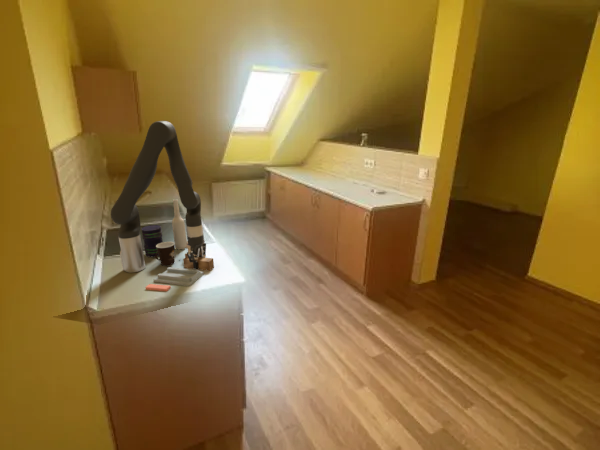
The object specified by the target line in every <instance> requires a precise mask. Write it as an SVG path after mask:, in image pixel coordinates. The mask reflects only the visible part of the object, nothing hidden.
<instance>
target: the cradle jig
mask: <svg viewBox="0 0 600 450" xmlns="http://www.w3.org/2000/svg"><path fill="white" fill-rule="evenodd" d="M204 274H205V273H204V271H201V270H197V269H188V268H184V267H183V268H182V267H173V266H168V267H167V268H166V270H165V271H163V272H162V273H158V274H157V275H156V277H155V278H153V282H154V283H161V284H167V285H169V284H170V285H178V286H186V287H191V286H192V285H193V284H194V283H195V282H196V281H197V280H198V279H200V278H202V276H204Z"/></svg>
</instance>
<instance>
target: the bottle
mask: <svg viewBox="0 0 600 450" xmlns="http://www.w3.org/2000/svg"><path fill="white" fill-rule="evenodd" d="M172 203H173V211H174V213H173V214H174V217H173V219H172V220H171V225H172V232H173V233H172V234H173V240H174V241H173V243H174V247H175V248H176V249H183V250H185V249H184V248H186V249H187V246H186V244H187V241H188V240H187V232H186V223H185V220H184V219H183V218H182V216H181V214H180V208H179V199H176V198H175V199H172ZM176 249H175V250H176Z"/></svg>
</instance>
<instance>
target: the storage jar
mask: <svg viewBox="0 0 600 450" xmlns="http://www.w3.org/2000/svg"><path fill="white" fill-rule="evenodd" d="M140 231H141V235H142V236H141V239H143V244H144V245H143V247H144V249H143V251H144V254H145V257H147V258H156V257H155V255H156V253H157V248H156V245H157V244H159V243H163V242H164V241H163V231H162V225H159V224H149V225H146V226H143V227H140ZM157 257H159V255H158V253H157Z"/></svg>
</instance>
